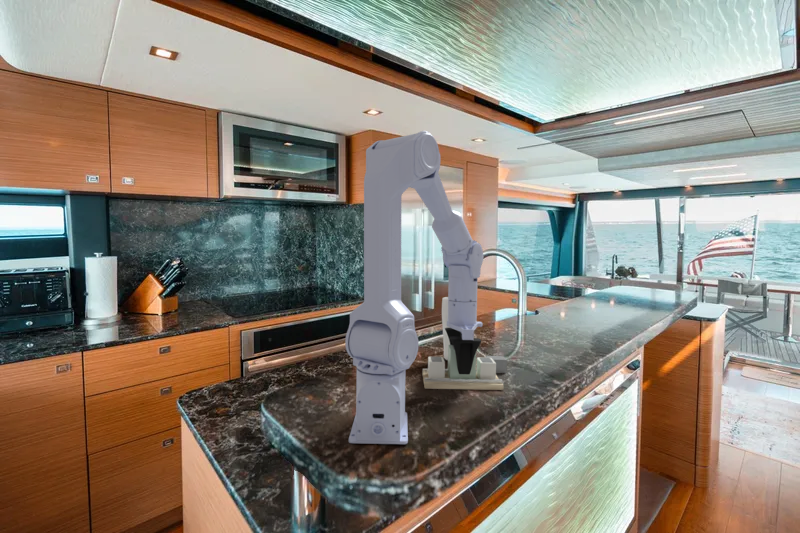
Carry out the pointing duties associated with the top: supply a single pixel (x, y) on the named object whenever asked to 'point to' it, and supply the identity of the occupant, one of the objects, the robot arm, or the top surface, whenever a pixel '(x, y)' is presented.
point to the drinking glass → (445, 326)
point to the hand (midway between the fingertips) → (461, 367)
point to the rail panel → (461, 384)
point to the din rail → (460, 379)
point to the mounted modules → (483, 370)
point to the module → (453, 366)
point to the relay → (499, 363)
